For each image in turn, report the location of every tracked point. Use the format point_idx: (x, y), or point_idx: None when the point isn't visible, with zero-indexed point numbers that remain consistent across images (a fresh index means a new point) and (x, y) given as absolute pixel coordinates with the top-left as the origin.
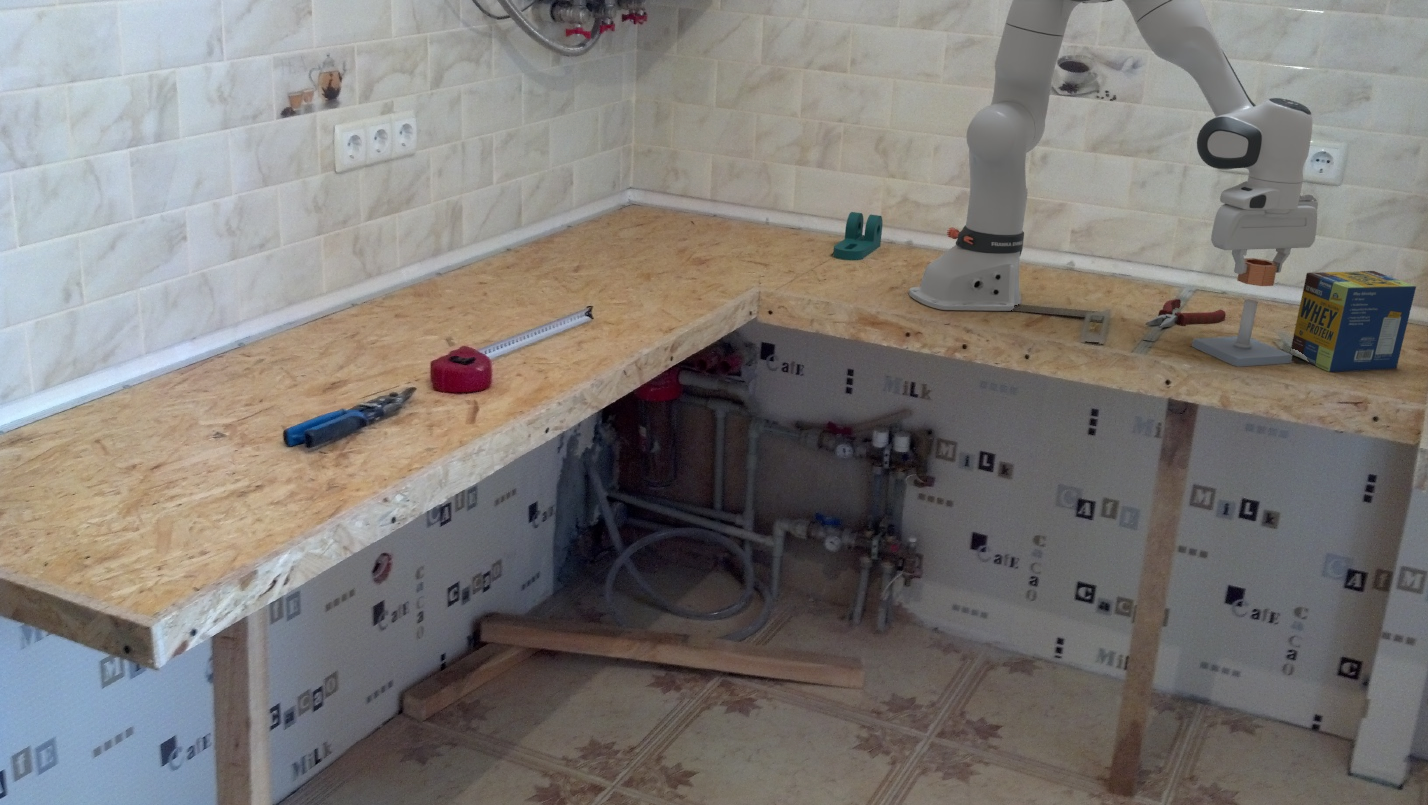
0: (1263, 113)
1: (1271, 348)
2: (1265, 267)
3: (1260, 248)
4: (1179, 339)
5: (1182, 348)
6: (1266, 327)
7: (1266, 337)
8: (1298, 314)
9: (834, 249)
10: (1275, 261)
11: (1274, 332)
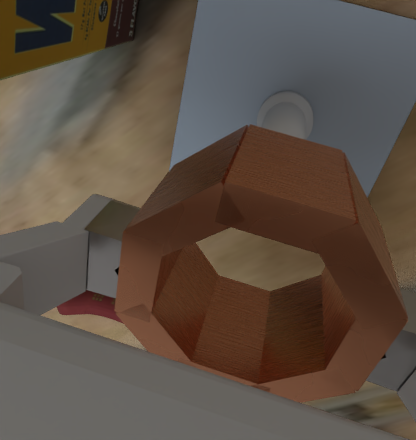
0: None
1: (207, 60)
2: (351, 219)
3: (389, 435)
4: (311, 270)
5: (388, 227)
6: (12, 219)
7: (71, 175)
8: (65, 57)
9: None
10: (82, 272)
11: (20, 189)
